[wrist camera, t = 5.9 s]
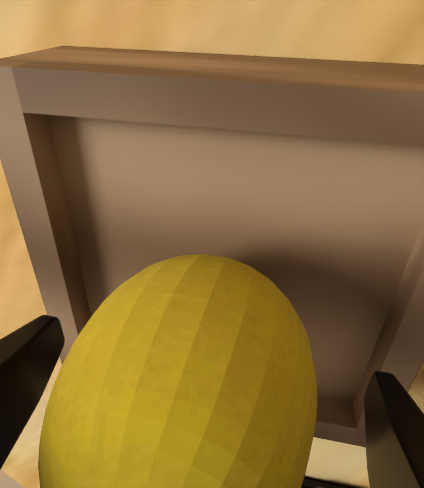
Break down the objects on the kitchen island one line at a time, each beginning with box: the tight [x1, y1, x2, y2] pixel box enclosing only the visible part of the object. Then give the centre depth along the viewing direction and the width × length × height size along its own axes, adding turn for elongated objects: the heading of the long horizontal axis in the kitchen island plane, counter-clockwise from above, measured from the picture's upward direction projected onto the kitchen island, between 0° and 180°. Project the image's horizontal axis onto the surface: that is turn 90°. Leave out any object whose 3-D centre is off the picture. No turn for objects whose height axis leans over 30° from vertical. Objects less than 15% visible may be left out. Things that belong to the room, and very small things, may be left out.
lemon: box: [38, 254, 317, 488], centre depth 9 cm, size 6×6×8 cm
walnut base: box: [0, 46, 424, 447], centre depth 13 cm, size 12×12×4 cm
